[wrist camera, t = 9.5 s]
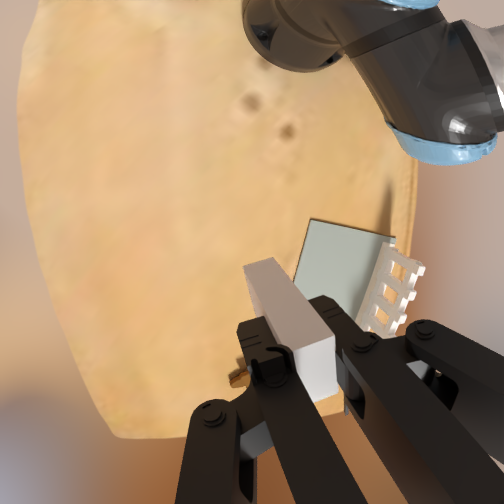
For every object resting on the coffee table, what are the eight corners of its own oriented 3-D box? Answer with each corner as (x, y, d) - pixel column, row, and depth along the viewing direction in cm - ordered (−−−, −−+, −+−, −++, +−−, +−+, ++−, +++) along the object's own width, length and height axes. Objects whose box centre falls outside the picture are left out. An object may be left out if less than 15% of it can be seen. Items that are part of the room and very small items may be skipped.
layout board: (310, 219, 43) (311, 220, 42) (395, 238, 47) (396, 239, 47) (269, 360, 50) (270, 361, 50) (349, 358, 54) (350, 359, 54)
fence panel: (359, 337, 52) (384, 365, 44) (352, 338, 51) (377, 366, 43) (392, 246, 47) (426, 265, 38) (385, 245, 46) (419, 264, 38)
